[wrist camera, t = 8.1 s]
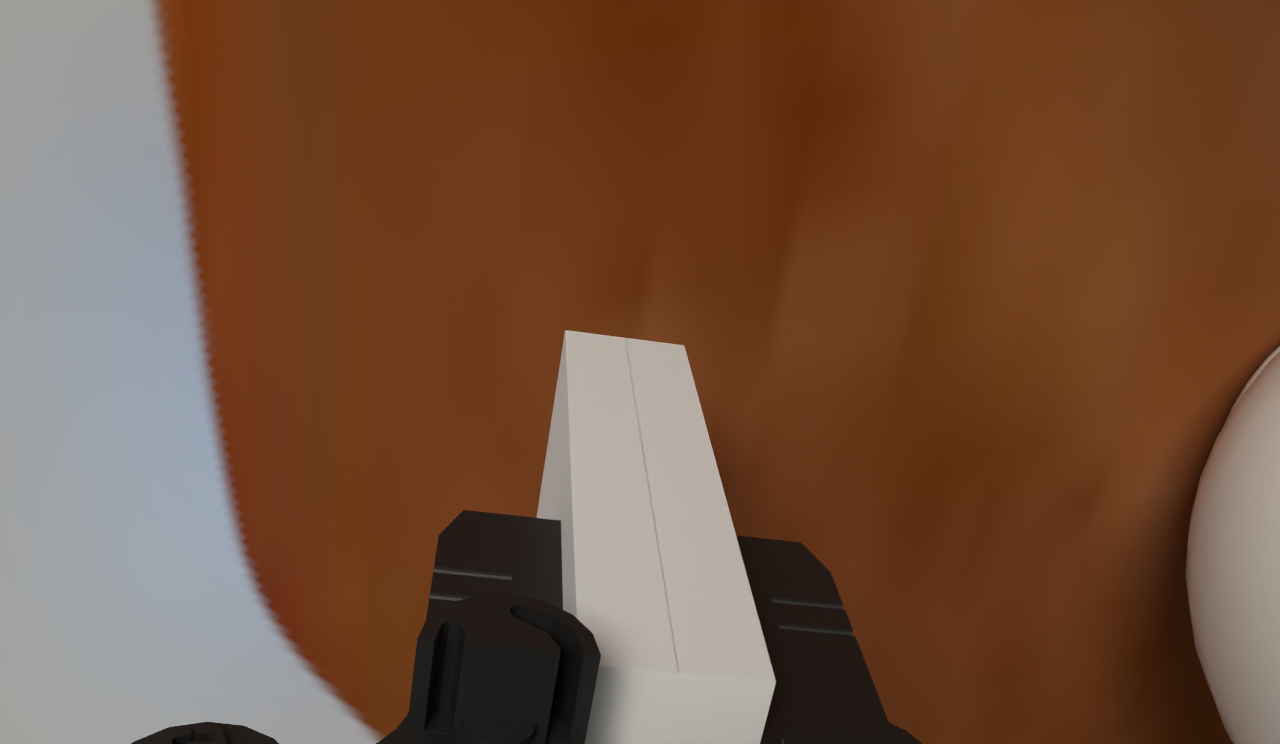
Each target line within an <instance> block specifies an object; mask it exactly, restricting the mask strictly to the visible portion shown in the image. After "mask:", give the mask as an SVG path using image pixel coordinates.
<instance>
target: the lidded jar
mask: <svg viewBox="0 0 1280 744" xmlns="http://www.w3.org/2000/svg"><path fill="white" fill-rule="evenodd" d="M1186 583H1187V591H1188V599H1189V608H1190V615H1191V622H1192V628H1193V635H1194V641H1195V648H1196V651H1197V654H1198V656H1199V659H1200V662H1201V665H1202V668H1203V671H1204V674H1205V677H1206V680H1207V683H1208V686H1209V688H1210V691H1211V694H1212V696H1213V699H1214V701H1215V704H1216V706H1217V709H1218V712H1219V714H1220V717H1221V719H1222V722H1223V725H1224V727H1225V730H1226V731H1227V733H1228V735H1229V737H1230V739H1231V741H1232V743H1233V744H1280V344H1279V345H1278V346H1277V347H1276V348H1275V349H1274V350H1273V351H1272V352H1271V353H1270V354H1269V355H1268V356H1267V357H1266V358H1265V359H1264V360H1263V361H1262V363H1261V364H1260V365H1259V367H1258V368H1257V369H1256V370H1255V372H1254V373H1253V374H1252V375H1251V377H1250V378H1249V379H1248V380H1247V382H1246V383H1245V385H1244V387H1243V388H1242V390H1241V392H1240V393H1239V395H1238V397H1237V398H1236V400H1235V402H1234V403H1233V405H1232V407H1231V409H1230V411H1229V413H1228V416H1227V418H1226V420H1225V423H1224V425H1223V428H1222V430H1221V431H1220V433H1219V435H1218V436H1217V438H1216V441H1215V443H1214V446H1213V448H1212V450H1211V453H1210V455H1209V457H1208V460H1207V462H1206V465H1205V467H1204V469H1203V472H1202V474H1201V477H1200V481H1199V485H1198V489H1197V493H1196V497H1195V501H1194V505H1193V509H1192V513H1191V520H1190V528H1189V535H1188V549H1187V563H1186Z"/></svg>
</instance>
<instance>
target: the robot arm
mask: <svg viewBox="0 0 1280 744" xmlns="http://www.w3.org/2000/svg"><path fill="white" fill-rule="evenodd" d="M852 631H853V629H852V627H851V624H850V622H849V619H848V617H847V614H846V611H845V610H842V601H841V598H840V596H839V593H838V591H837V588H836V586H835V583H834V580H833V578H832V575H831V573H830V571H829V570H828V569H827V568H826V567H825V566H824V565H823V564H822V563H821V562H820V561H819V560H818V559H817V558H816V557H815V556H814V555H813V554H812V553H811V552H810V551H809V550H808V549H806V548H805V547H804V546H803V545H802V544H801V543H799V542H790V541H781V540H771V539H762V538H753V537H743V536H736V533H735V530H734V526H733V523H732V519H731V515H730V512H729V508H728V504H727V501H726V497H725V493H724V490H723V486H722V482H721V479H720V475H719V471H718V468H717V464H716V460H715V457H714V453H713V449H712V446H711V442H710V438H709V435H708V431H707V427H706V424H705V420H704V416H703V413H702V409H701V405H700V402H699V398H698V394H697V391H696V387H695V383H694V380H693V376H692V372H691V369H690V365H689V361H688V358H687V354H686V351H685V347H684V345H677V344H669V343H661V342H653V341H645V340H637V339H630V338H622V337H614V336H606V335H598V334H591V333H583V332H575V331H567V330H565V335H564V342H563V348H562V355H561V361H560V368H559V374H558V381H557V388H556V394H555V401H554V407H553V414H552V420H551V427H550V433H549V440H548V446H547V453H546V460H545V466H544V473H543V479H542V486H541V492H540V499H539V505H538V512H537V518H532V517H523V516H514V515H504V514H495V513H486V512H476V511H467V510H463V511H462V512H461V513H460V514H459V515H458V516H457V517H456V518H455V519H454V520H453V521H452V522H451V523H450V525H449V526H448V527H447V528H446V529H445V530H444V531H443V532H442V533H441V534H440V535H439V538H438V545H437V552H436V558H435V565H434V572H433V578H432V584H431V591H430V599H429V604H428V611H427V617H426V622H425V624H424V626H423V628H422V630H421V632H420V634H419V636H418V638H417V647H416V656H415V664H414V673H413V682H412V691H411V700H410V709H409V713H408V715H407V716H406V717H405V719H404V720H403V721H402V722H401V724H400V725H399V726H398V728H397V729H396V730H394V731H393V732H392V733H390V734H389V735H388V736H386V737H385V738H384V739H382V740H381V741H380V742H378V743H376V744H922V743H921V742H919V741H918V740H917V739H916V738H914V737H913V736H912V735H911V734H909V733H908V732H907V731H905V730H903V729H901V728H899V727H897V726H895V725H893V724H890V723H889V722H888V720H887V717H886V715H885V712H884V709H883V707H882V704H881V702H880V699H879V696H878V694H877V691H876V689H875V686H874V684H873V681H872V678H871V676H870V673H869V671H868V668H867V666H866V663H865V660H864V658H863V655H862V653H861V650H860V647H859V645H858V642H857V640H856V637H855V636H852ZM132 744H279V743H277V741H276V740H275V739H273V738H271V737H269V736H266V735H264V734H262V733H259V732H257V731H255V730H252V729H250V728H248V727H245V726H241V725H231V724H222V723H213V722H203V723H196V724H190V725H182V726H175V727H169V728H166V729H164V730H161V731H159V732H157V733H154V734H152V735H149V736H147V737H145V738H142V739H140V740H137V741H135V742H133V743H132Z"/></svg>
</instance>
